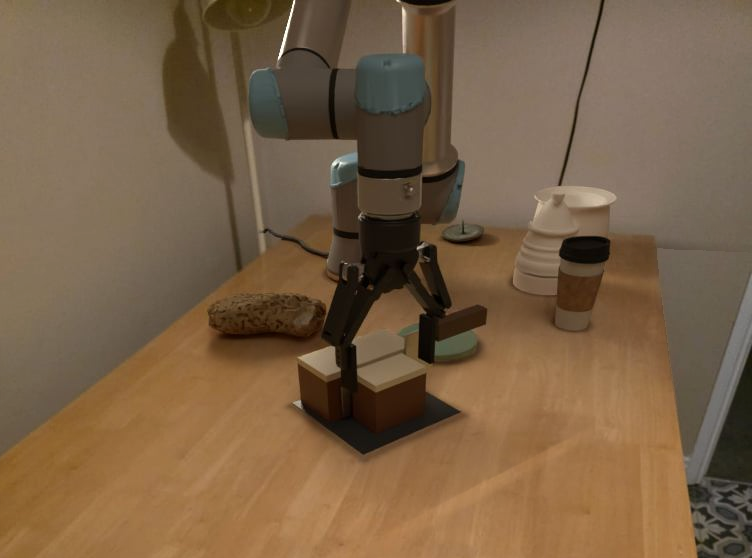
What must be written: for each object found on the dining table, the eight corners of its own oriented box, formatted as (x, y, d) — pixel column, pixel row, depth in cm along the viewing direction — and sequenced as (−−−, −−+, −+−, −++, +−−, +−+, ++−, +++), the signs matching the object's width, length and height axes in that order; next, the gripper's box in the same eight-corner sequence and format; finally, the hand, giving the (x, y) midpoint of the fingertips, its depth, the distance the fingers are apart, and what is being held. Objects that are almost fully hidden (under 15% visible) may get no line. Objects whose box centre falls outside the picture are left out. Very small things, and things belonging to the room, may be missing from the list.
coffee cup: (596, 335, 118) (614, 248, 109) (547, 332, 120) (561, 246, 110) (593, 316, 125) (610, 233, 115) (547, 314, 126) (560, 231, 117)
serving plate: (380, 343, 118) (380, 335, 117) (439, 322, 124) (439, 314, 123) (433, 371, 109) (433, 363, 108) (493, 347, 115) (494, 339, 114)
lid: (489, 244, 163) (494, 222, 161) (468, 243, 156) (472, 220, 154) (454, 238, 169) (457, 217, 167) (432, 237, 162) (435, 215, 160)
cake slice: (353, 418, 97) (351, 371, 92) (400, 399, 101) (401, 352, 96) (376, 434, 93) (375, 386, 88) (424, 413, 97) (426, 366, 93)
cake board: (292, 406, 101) (291, 402, 100) (385, 371, 109) (385, 368, 109) (363, 458, 90) (363, 454, 89) (461, 415, 98) (461, 411, 97)
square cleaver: (346, 420, 95) (344, 358, 89) (338, 414, 97) (334, 352, 91) (482, 366, 108) (487, 308, 102) (472, 361, 109) (477, 304, 103)
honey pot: (577, 296, 133) (595, 200, 121) (512, 293, 135) (523, 198, 123) (573, 274, 142) (589, 182, 131) (512, 271, 144) (523, 181, 133)
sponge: (328, 328, 126) (233, 295, 128) (331, 292, 120) (231, 259, 122) (300, 369, 118) (199, 334, 121) (301, 334, 112) (195, 297, 114)
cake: (329, 423, 96) (326, 376, 91) (300, 403, 100) (296, 357, 96) (414, 389, 103) (415, 344, 98) (384, 371, 108) (384, 327, 103)
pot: (538, 235, 164) (545, 181, 156) (611, 242, 159) (622, 187, 151) (518, 263, 148) (525, 204, 141) (597, 272, 143) (609, 212, 135)
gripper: (320, 238, 71) (330, 412, 84) (486, 200, 83) (472, 358, 96) (283, 223, 76) (298, 390, 89) (445, 189, 88) (438, 341, 101)
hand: (389, 374), depth 93 cm, fingers open, 13 cm apart
